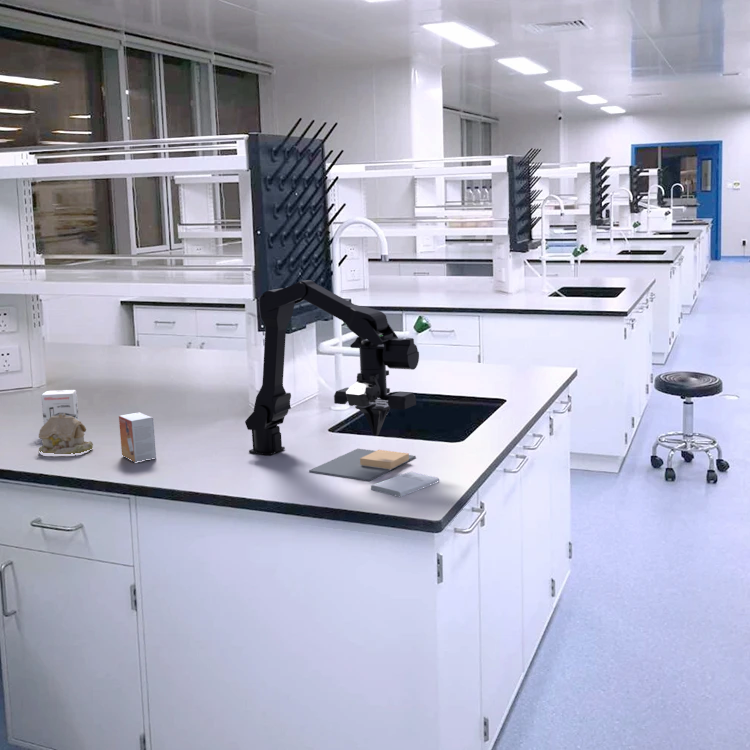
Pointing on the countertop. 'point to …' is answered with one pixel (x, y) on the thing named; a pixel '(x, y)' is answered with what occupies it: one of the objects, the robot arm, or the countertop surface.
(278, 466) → the countertop surface
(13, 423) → the countertop surface
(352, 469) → the mat
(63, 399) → the ink box
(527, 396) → the countertop surface
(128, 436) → the small box
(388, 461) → the tile
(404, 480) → the external hard drive
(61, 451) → the ceramic model
